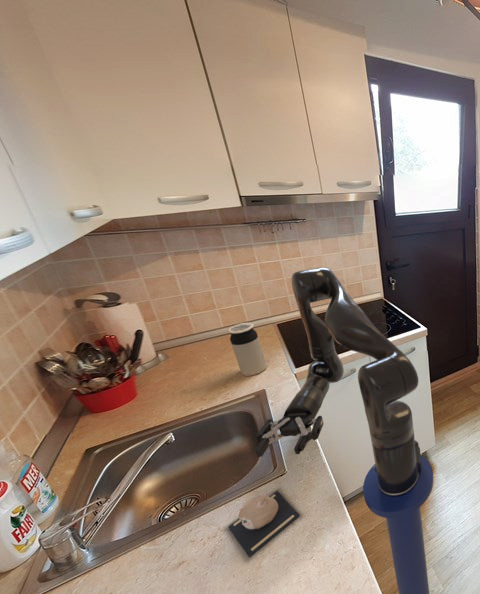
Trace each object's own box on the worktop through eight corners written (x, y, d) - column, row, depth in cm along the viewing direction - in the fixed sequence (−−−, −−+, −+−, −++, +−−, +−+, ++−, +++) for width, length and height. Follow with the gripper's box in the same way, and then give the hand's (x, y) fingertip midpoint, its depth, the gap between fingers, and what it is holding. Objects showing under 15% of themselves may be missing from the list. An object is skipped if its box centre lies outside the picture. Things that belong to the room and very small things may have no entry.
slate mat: (277, 491, 77) (276, 490, 77) (299, 516, 72) (299, 514, 72) (228, 527, 70) (227, 526, 70) (249, 557, 64) (248, 556, 64)
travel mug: (264, 373, 120) (251, 330, 113) (238, 378, 118) (223, 334, 111) (268, 362, 127) (256, 320, 120) (245, 366, 125) (231, 324, 118)
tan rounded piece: (248, 543, 66) (236, 517, 63) (240, 520, 71) (230, 495, 68) (283, 520, 71) (275, 494, 68) (275, 500, 75) (266, 475, 72)
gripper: (275, 396, 90) (241, 443, 75) (329, 393, 91) (305, 438, 76) (282, 417, 93) (250, 467, 78) (334, 414, 94) (312, 462, 79)
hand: (277, 453), depth 77 cm, fingers open, 8 cm apart
